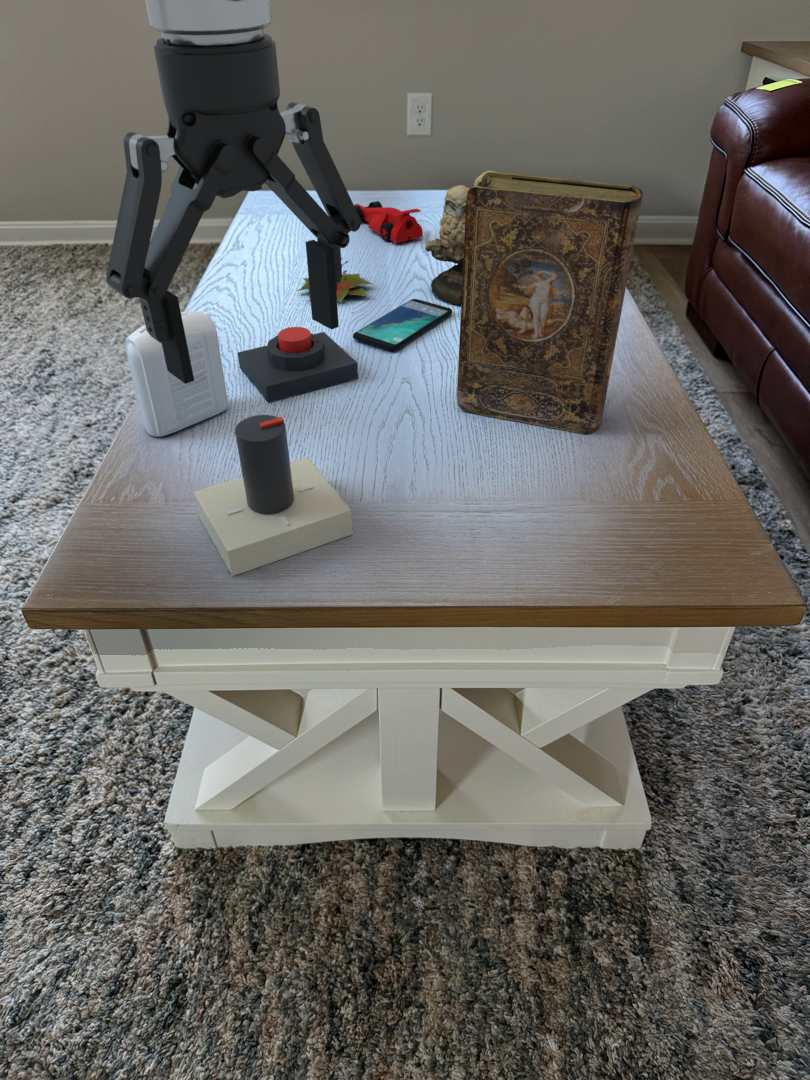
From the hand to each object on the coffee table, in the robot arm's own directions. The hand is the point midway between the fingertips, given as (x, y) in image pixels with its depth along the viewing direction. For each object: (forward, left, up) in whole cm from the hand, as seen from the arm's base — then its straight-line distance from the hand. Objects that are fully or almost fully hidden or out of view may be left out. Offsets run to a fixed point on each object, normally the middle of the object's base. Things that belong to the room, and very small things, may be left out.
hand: (257, 348), depth 63 cm
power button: (+14, +29, -16) cm, 35 cm away
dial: (0, +2, -16) cm, 16 cm away
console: (0, +2, -19) cm, 19 cm away
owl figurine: (+48, +38, -19) cm, 64 cm away
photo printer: (-2, +25, -19) cm, 32 cm away
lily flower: (+29, +50, -19) cm, 61 cm away
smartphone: (+32, +34, -19) cm, 50 cm away
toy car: (+48, +71, -19) cm, 87 cm away
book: (+34, +7, -19) cm, 40 cm away
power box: (+14, +29, -19) cm, 37 cm away
